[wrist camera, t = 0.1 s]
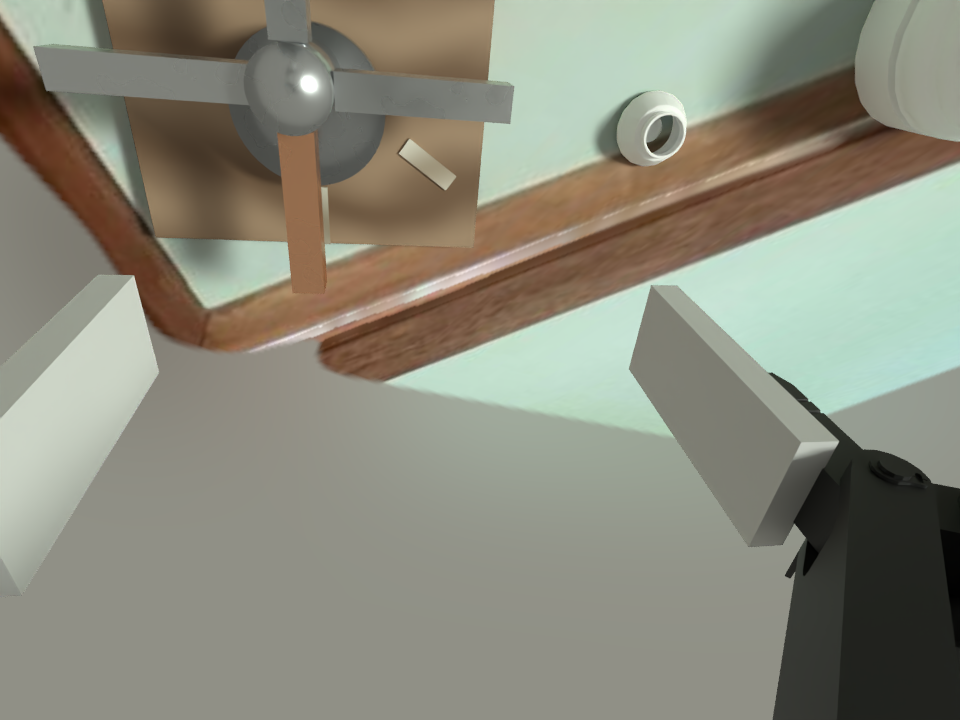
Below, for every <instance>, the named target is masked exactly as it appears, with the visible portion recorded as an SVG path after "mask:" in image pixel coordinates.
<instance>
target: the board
mask: <svg viewBox="0 0 960 720" xmlns="http://www.w3.org/2000/svg"><path fill="white" fill-rule="evenodd" d="M102 2H103V6H104V11H105V15H106V19H107V24H108V28H109V33H110V37H111V42H112V46H113V49H119V50H131V51H142V52H154V53H166V54H178V55H190V56H202V57H214V58H226V59H235V57H236V55H237V53H238V52H239V50H240V49H241V47H242V46H243V45H244V43H245V42H246V41H247V40H248V39H249V38H250V37H251V36H252V35H254V34H255V33H257V32H258V31H260V30H261V29H263V28H265V27H267V24H266V13H265V3H264V0H102ZM494 2H495V0H310V13H311V21H316V22H320V23H323V24H326V25H329V26H331V27H333V28H335V29H337V30H339V31H340V32H342V33H344V34H345V35H347V36H348V37H349V38H350V39H352V40H353V41H354V42H355V43H356V44H357V45H358V46H359V47H360V48H361V49H362V50H363V51H364V52H365V54H366V55H367V56H368V58H369V59H370V61H371V62H372V64H373V66H374V67H375V69H376V71H381V72H393V73H405V74H416V75H428V76H440V77H452V78H464V79H476V80H488V72H489V60H490V48H491V37H492V25H493V14H494ZM124 99H125V103H126V108H127V112H128V117H129V121H130V126H131V130H132V134H133V139H134V143H135V148H136V152H137V157H138V161H139V165H140V170H141V174H142V179H143V183H144V187H145V192H146V196H147V201H148V205H149V210H150V214H151V218H152V223H153V227H154V232H155V236H156V237H162V238H193V239H224V240H254V241H285V242H288V240H287V229H286V219H285V209H284V198H283V188H282V178H281V176H279V175H277V174H275V173H274V172H272V171H271V170H269V169H268V168H266V167H265V166H264V165H263V164H261V163H260V162H259V161H258V160H257V159H256V158H255V157H254V156H253V155H252V154H251V152H250V151H249V150H248V149H247V147H246V146H245V145H244V143H243V141H242V140H241V138H240V136H239V135H238V132H237V130H236V128H235V126H234V123H233V120H232V117H231V114H230V109H229V104H225V103H211V102H197V101H183V100H169V99H155V98H141V97H127V96H124ZM483 130H484V122H478V121H464V120H450V119H436V118H422V117H408V116H393V115H385V126H384V132H383V136H382V139H381V142H380V145H379V147H378V149H377V151H376V153H375V154H374V156H373V157H372V159H371V160H370V161H369V163H368V164H367V165H366V166H365V167H364V168H363V169H362V170H360V171H359V172H358V173H357V174H355V175H353V176H352V177H350V178H348V179H346V180H344V181H341V182H338V183H335V184H330V185H321V193H322V209H323V226H324V242H325V244H330V243H346V244H377V245H407V246H438V247H468V248H473V246H474V235H475V223H476V211H477V200H478V188H479V177H480V165H481V153H482V142H483Z"/></svg>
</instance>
